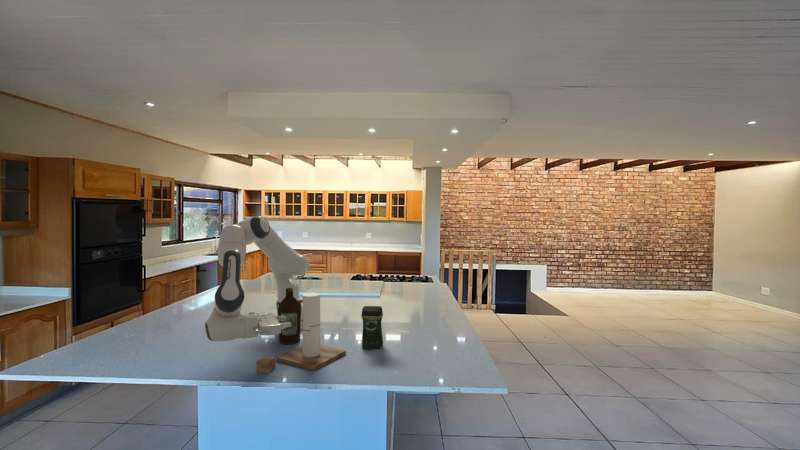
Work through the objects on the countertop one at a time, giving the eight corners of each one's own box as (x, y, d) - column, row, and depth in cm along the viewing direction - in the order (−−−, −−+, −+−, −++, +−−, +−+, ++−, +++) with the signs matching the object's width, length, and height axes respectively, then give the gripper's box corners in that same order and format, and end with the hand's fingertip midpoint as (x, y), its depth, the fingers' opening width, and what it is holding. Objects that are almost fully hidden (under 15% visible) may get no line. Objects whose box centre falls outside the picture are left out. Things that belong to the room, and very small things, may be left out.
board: (310, 346, 173) (310, 342, 173) (345, 354, 163) (345, 350, 163) (276, 360, 155) (276, 357, 155) (313, 370, 146) (313, 367, 146)
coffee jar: (383, 344, 176) (384, 304, 175) (381, 350, 168) (382, 308, 167) (363, 343, 176) (363, 303, 176) (360, 349, 168) (360, 308, 168)
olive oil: (278, 338, 183) (278, 286, 182) (301, 336, 186) (301, 285, 185) (276, 345, 173) (276, 291, 172) (301, 344, 175) (300, 290, 174)
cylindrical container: (321, 356, 157) (321, 295, 156) (303, 357, 155) (303, 296, 154) (319, 350, 164) (319, 292, 163) (302, 351, 161) (302, 293, 161)
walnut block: (264, 366, 150) (264, 356, 150) (275, 368, 149) (275, 357, 149) (256, 371, 145) (256, 361, 145) (268, 373, 144) (267, 362, 144)
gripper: (255, 324, 138) (294, 319, 145) (249, 311, 157) (283, 307, 163) (255, 341, 139) (294, 336, 145) (249, 326, 157) (283, 322, 163)
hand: (288, 321), depth 154 cm, fingers open, 8 cm apart
